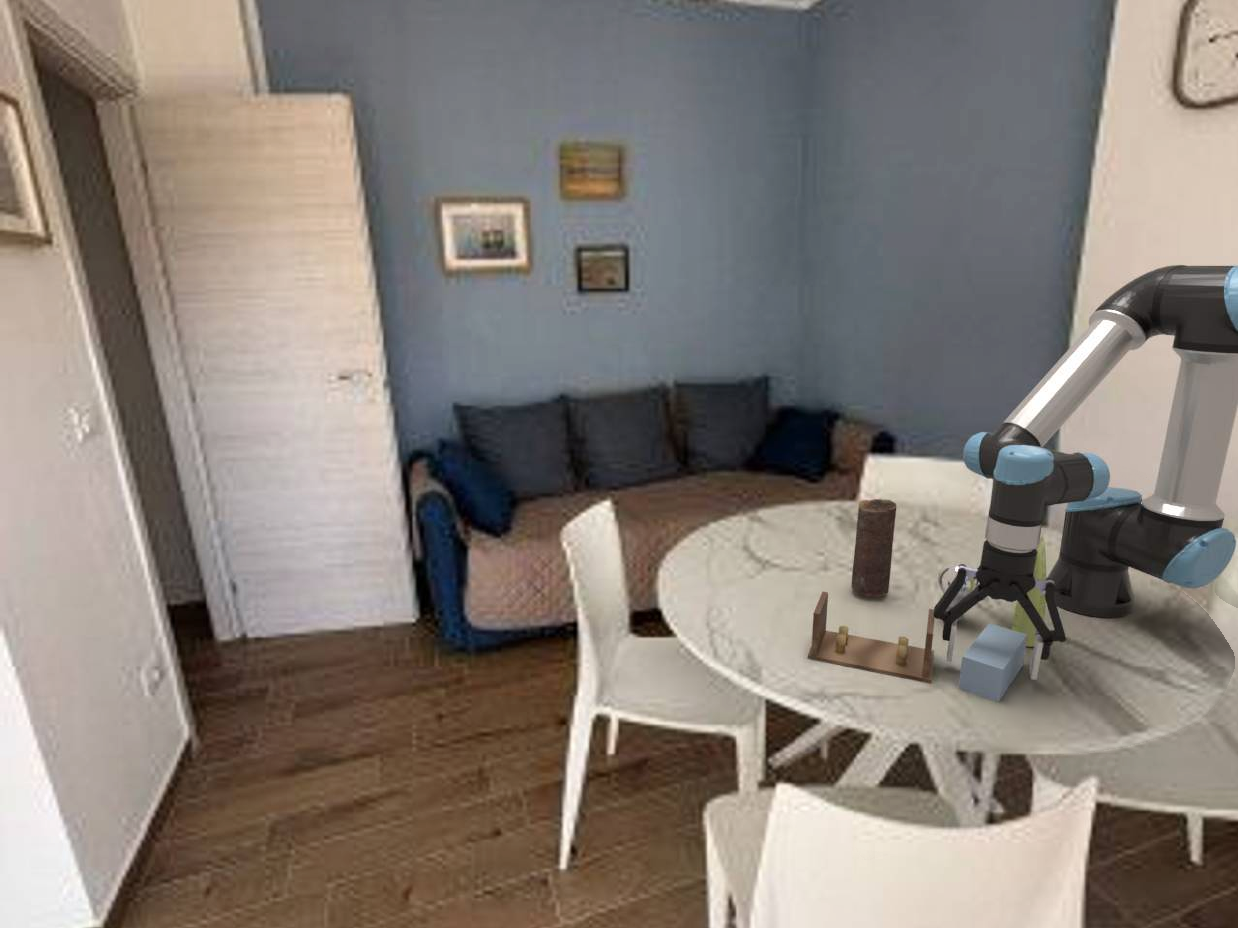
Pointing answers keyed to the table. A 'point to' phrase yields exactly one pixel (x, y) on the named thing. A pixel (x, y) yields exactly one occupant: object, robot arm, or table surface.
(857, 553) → the brown rusty cylinder
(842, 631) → the peg stand
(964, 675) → the block
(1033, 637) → the tube
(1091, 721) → the table surface
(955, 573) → the light bulb
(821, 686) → the table surface
